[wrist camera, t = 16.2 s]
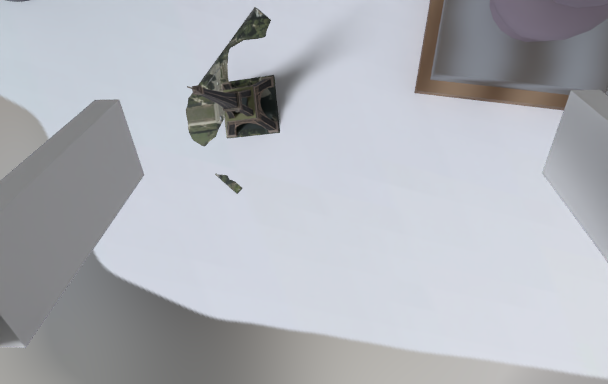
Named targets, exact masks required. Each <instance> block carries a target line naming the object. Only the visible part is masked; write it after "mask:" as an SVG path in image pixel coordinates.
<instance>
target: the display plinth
mask: <svg viewBox="0 0 608 384" xmlns="http://www.w3.org/2000/svg"><path fill="white" fill-rule="evenodd" d="M607 87H608V18H607V19H606V20H605V21H603V22H602V23H600V24H599V25H597V26H596V27H595V28H593V29H592V30H590V31H587V32H584V33H582V34H579V35H576V36H573V37H571V38H568V39H565V40H555V41H539V42H524V41H521V40H517V39H514V38H511V37H510V36H508V35H507V34H506V33H504V32H503V31H501V30H500V28H499V27H498V25H497V24H496V23H495V21H494V20H493V17H492V13H491V10H490V0H430V5H429V11H428V17H427V22H426V28H425V34H424V40H423V46H422V52H421V58H420V64H419V69H418V75H417V81H416V87H415V93H420V94H429V95H437V96H446V97H454V98H463V99H472V100H480V101H489V102H497V103H506V104H515V105H523V106H532V107H541V108H549V109H558V110H564V109H565V106H566V103H567V100H568V97H569V95H570V92H571V90H601V91H602V92H606V91H607Z"/></svg>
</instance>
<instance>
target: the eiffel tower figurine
mask: <svg viewBox="0 0 608 384" xmlns="http://www.w3.org/2000/svg"><path fill="white" fill-rule="evenodd" d="M270 21H271V20H270V19H269V18H268V17H266V16H265V15H264V14H263V13H261V12H260V11H259V10H258V9H256V8H254V9H253V11H252V12H251V13H250V15H249V16H248V17H247V19H246V20H245V22H244V23H243V24H242V26H241V27H240V28H239V30H238V31H237V33H236V34H235V35H234V37H233V38H232V39H231V41H230V42H229V44H228V45H227V46H226V48H225V49H224V50H223V52H222V53H221V55H220V56H219V57H218V59H217V60H216V61H215V63H214V64H213V65H212V67H211V68H210V70H209V71H208V72H207V74H206V75H205V76H204V78H203V79H202V81H201V82H200V83H199V85H198V86H192V88H191V87H188V86H187V87H188V88H191V89H192V90H193V93H192V94H191V96H190V97H189V98H188V106H187V109H186V115H187V120H188V130H189V133H190V135H191V137H192V139H193V140H194V141H195V142H197V143H199V144H201V146H206V145H207V144H208V142H209V141H211V140H212V139H213V138H215V137H216V134H217V132H218V129H219V127H220V125H221V123H222V121H223V120H224V118H225V127H226V135H227V138H235V137H245V136H254V135H263V134H272V133H280V128H279V118H278V108H277V99H276V89H275V79H274V75H271V76H264V77H257V78H251V79H244V80H237V81H230V82H229V81H228V70H227V63H228V53H229V49H230V48H231V47H233V46H235V45H236V44H238V43H240V42H241V41H243V40H249V39H258V38H263V37H265V36H266V31H267V28H268V26H269V24H270ZM216 174H217V173H216ZM216 174H215V175H216ZM216 176H217V177H219V178H220V179H221V180H222V181H223V182H224V183H225V184H227V185H228V186H229V187H230V188H231V189H232V190H233V191H235V192H236V193H238V192H239V191H240V190H241V189H242V187H240V186H239V185H238V184H237V183H236V182H235V181H232V180H230V179H229V178H228V176H227V175H216Z"/></svg>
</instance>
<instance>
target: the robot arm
mask: <svg viewBox="0 0 608 384" xmlns="http://www.w3.org/2000/svg"><path fill="white" fill-rule="evenodd" d="M7 1H15V2H19V1H28V0H7ZM542 174H543V175H544V177H545V178H546V179H547V181H548V182H549V183H550V185H551V186H552V187H553V189H554V190H555V191H556V193H557V194H558V195H559V197H560V198H561V200H562V201H563V202H564V204H565V205H566V206H567V208H568V209H569V210H570V212H571V213H572V214H573V216H574V217H575V219H576V220H577V221H578V223H579V224H580V225H581V227H582V228H583V229H584V231H585V232H586V233H587V235H588V236H589V237H590V239H591V240H592V242H593V243H594V244H595V246H596V247H597V248H598V250H599V251H600V252H601V254H602V255H603V256H604V258H605V259H606V261H607V262H608V95H606V94H605V93H604V92H602V91H601V90H571V92H570V95H569V97H568V100H567V103H566V106H565V109H564V112H563V114H562V117H561V120H560V123H559V126H558V129H557V131H556V134H555V137H554V140H553V143H552V146H551V148H550V151H549V154H548V157H547V160H546V163H545V166H544V168H543V171H542ZM143 176H144V173H143V170H142V167H141V164H140V161H139V158H138V155H137V152H136V149H135V146H134V143H133V140H132V137H131V134H130V131H129V128H128V125H127V122H126V119H125V116H124V113H123V110H122V107H121V104H120V101H119V100H94V101H93V102H92V103H91V104H90V105H89V106H87V107H86V108H85V109H84V110H83V111H82V112H80V113H79V114H78V115H77V116H76V117H74V118H73V119H72V120H71V121H70V122H69V123H67V124H66V125H65V126H64V127H63V128H62V129H60V130H59V131H58V132H57V133H56V134H55V135H53V136H52V137H51V138H50V139H49V140H47V141H46V142H45V143H44V144H43V145H42V146H40V147H39V148H38V149H37V150H36V151H35V152H33V153H32V154H31V155H30V156H29V157H28V158H26V159H25V160H24V161H23V162H22V163H20V164H19V165H18V166H17V167H16V168H15V169H13V170H12V171H11V172H10V173H9V174H8V175H6V176H5V177H4V178H3V179H2V180H1V181H0V347H19V348H26V347H27V345H28V344H29V342H30V340H31V339H32V338H33V336H34V335H35V333H36V332H37V331H38V329H39V328H40V326H41V325H42V323H43V322H44V320H45V319H46V317H47V316H48V314H49V313H50V312H51V310H52V309H53V307H54V306H55V304H56V303H57V301H58V300H59V298H60V297H61V295H62V294H63V293H64V291H65V290H66V288H67V287H68V285H69V284H70V282H71V281H72V280H73V278H74V277H75V275H76V274H77V272H78V271H79V269H80V268H81V266H82V265H83V263H84V262H85V260H86V259H87V258H88V256H89V255H90V253H91V252H92V250H93V249H94V247H95V246H96V245H97V243H98V242H99V240H100V239H101V237H102V236H103V234H104V233H105V231H106V230H107V228H108V227H109V226H110V224H111V223H112V221H113V220H114V218H115V217H116V215H117V214H118V212H119V211H120V210H121V208H122V207H123V205H124V204H125V202H126V201H127V199H128V198H129V196H130V195H131V193H132V192H133V191H134V189H135V188H136V186H137V185H138V183H139V182H140V180H141V179H142V177H143Z"/></svg>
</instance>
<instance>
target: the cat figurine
mask: <svg viewBox="0 0 608 384" xmlns="http://www.w3.org/2000/svg"><path fill="white" fill-rule="evenodd" d="M490 10H491V13H492V17H493V20H494V21H495V23H496V24H497V25H498V27H499V28H500V30H501V31H503V32H504V33H506V34H507V35H508V36H510V37H511V38H514V39H517V40H521V41H524V42H539V41H555V40H565V39H568V38H571V37H573V36H576V35H579V34H582V33H584V32H587V31H590V30H592V29H593V28H595V27H596V26H597V25H599V24H600V23H602V22H603V21H605V20H606V19H607V18H608V0H490Z"/></svg>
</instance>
